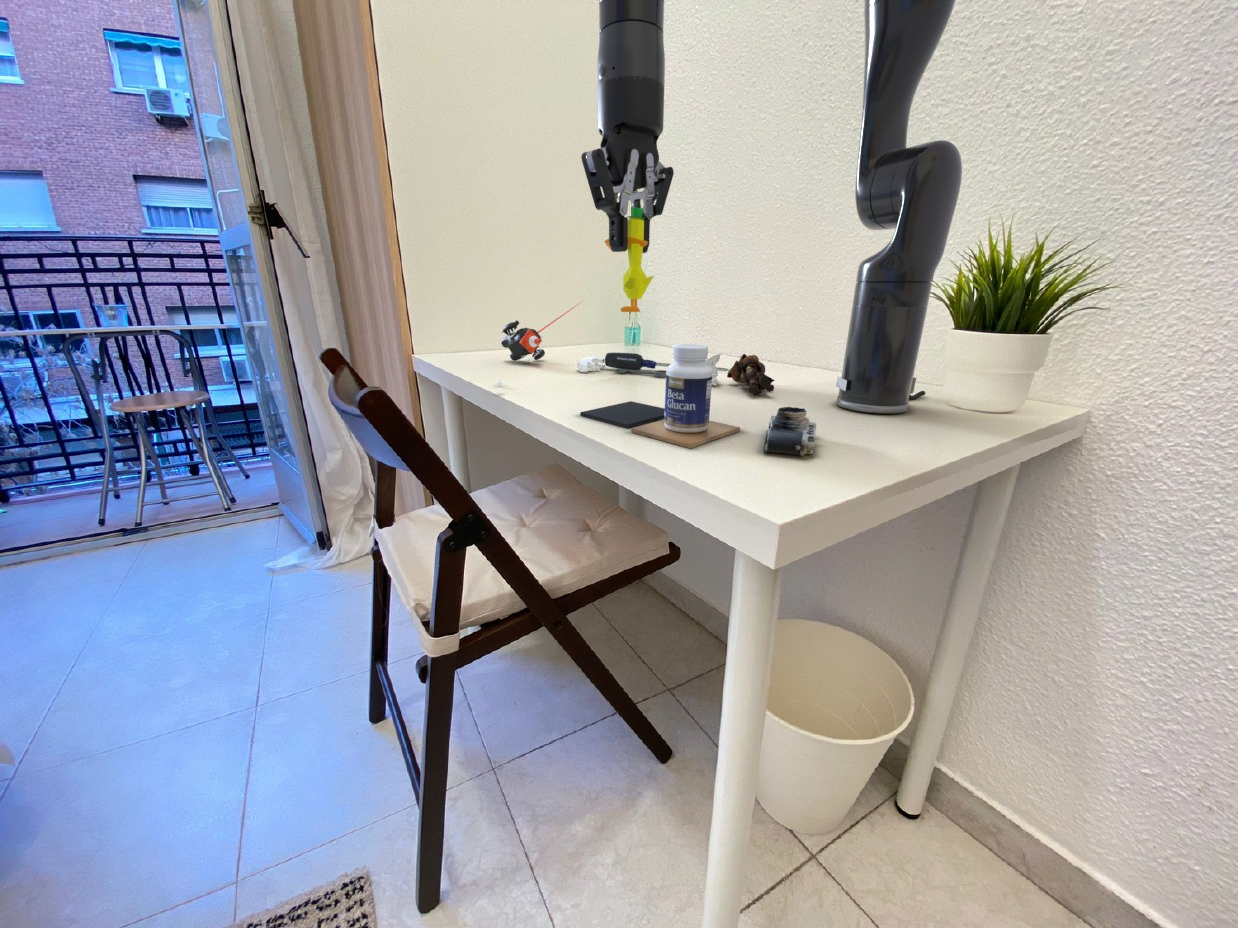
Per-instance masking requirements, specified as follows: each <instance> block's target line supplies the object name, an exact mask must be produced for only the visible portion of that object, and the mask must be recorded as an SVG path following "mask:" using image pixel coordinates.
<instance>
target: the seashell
mask: <svg viewBox="0 0 1238 928" xmlns="http://www.w3.org/2000/svg"><path fill="white" fill-rule="evenodd" d="M721 355H722V353H717V354H715V355H714V354H713V356H711V357H709V358H707V359H706V360H705V364H707V365H709V366H710V367H711V369H712V386H715V387H717V385H718V384H717V383H719V380H718V378H717V377H719V371H718V370H717V366H716V365H717V364H718V363H719V361H720V358H721Z"/></svg>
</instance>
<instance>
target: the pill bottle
mask: <svg viewBox="0 0 1238 928" xmlns="http://www.w3.org/2000/svg"><path fill="white" fill-rule="evenodd" d="M708 355H709V345H708V346H707V345H705V344H698V343H697V344H696V343H678V344H674V345H673V346H672V359H674V362H672V363H670V364H671V365H669V366H668V367H666V370H665V371H666V378H665V389H664V396H665V397H664V408H665V412H664V419H663V420H664V425H665V427H666V428H667V429H669V430H671V431H674V432H681V433H698V432H702V431H705V430H706V429H707V428H708V426H709V421H710V413H711V412H710V411H711V399H712V386H713V385H712V369H711V367H710V366H709V365H707V364H705V360H707V359H708V357H709V356H708Z"/></svg>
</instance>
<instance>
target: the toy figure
mask: <svg viewBox="0 0 1238 928" xmlns="http://www.w3.org/2000/svg"><path fill="white" fill-rule="evenodd" d="M642 213H643V207H641V208H636V207H632V206H631V207H630V215H626V217H628V248H627V256H628V257H627V258H628V265H629V267H628V268H627V270H626V272H625V273H624V275H623V277H622V279H623V281H622V283H623V284H622V286H623V288H622V289H623V292H624V293H625V295H626V297H627V299H628V300H630V305H629V306H628V305H626V306H623V307H621V308H620V312H621V313H639V312H641V310H640V308H639V307H638V300H642V298H643V296H644V294H645V293H646V291H647V288H648V287H649V285H650V284H651V282H652V280H653V279H654V277H655V276H654V275H651V276H649V277H647V275H646V273H645V271H644V270H643V269H642V260H643V253H642V252H643V247H644V246H646V245H647V244H648V241H645V240H644V220H642V219H645V218H642V217H641V216H642ZM604 243H605V246H606V247H608V248H609V250H611V246H610V244H609V238H608V239H605V240H604Z"/></svg>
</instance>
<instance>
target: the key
mask: <svg viewBox="0 0 1238 928" xmlns="http://www.w3.org/2000/svg"><path fill="white" fill-rule="evenodd" d="M614 373H618V374H636V375H649V376H651V375H653V377H655V378H660V379H663V378H665V379H666V370H665V369H658V370H657V369H656V370H654V371H650V370H649V371H646V370H626V369H618V368H616V370H615V371H614Z"/></svg>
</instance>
